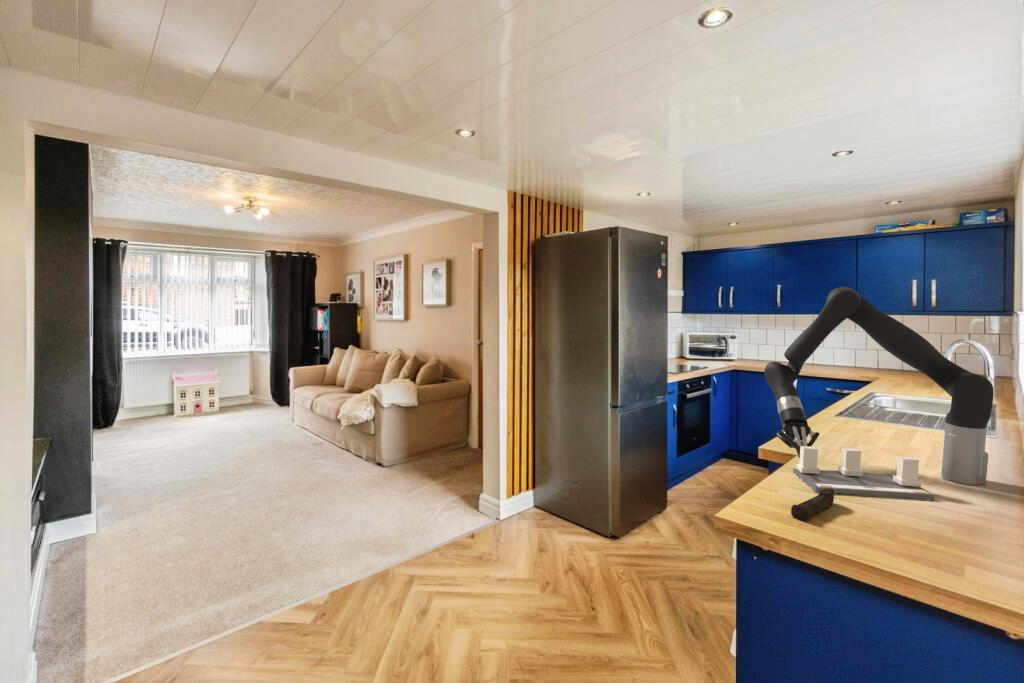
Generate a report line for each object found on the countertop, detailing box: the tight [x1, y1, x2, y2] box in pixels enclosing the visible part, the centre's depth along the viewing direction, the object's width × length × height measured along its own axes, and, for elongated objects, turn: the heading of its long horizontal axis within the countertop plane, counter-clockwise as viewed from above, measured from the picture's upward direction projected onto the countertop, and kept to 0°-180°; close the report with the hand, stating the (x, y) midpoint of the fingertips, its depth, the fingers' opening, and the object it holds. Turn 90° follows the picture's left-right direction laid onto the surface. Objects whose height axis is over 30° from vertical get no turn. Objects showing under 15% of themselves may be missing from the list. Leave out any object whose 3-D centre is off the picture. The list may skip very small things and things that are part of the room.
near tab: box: [893, 456, 922, 487], centre depth 140 cm, size 5×4×8 cm
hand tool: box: [790, 488, 835, 522], centre depth 125 cm, size 19×4×5 cm, turn 122°
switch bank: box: [792, 468, 935, 501], centre depth 143 cm, size 30×16×2 cm, turn 80°
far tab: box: [796, 446, 821, 474], centre depth 150 cm, size 5×4×8 cm
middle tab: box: [837, 447, 864, 476], centre depth 148 cm, size 5×4×8 cm
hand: (804, 459), depth 153 cm, fingers closed
